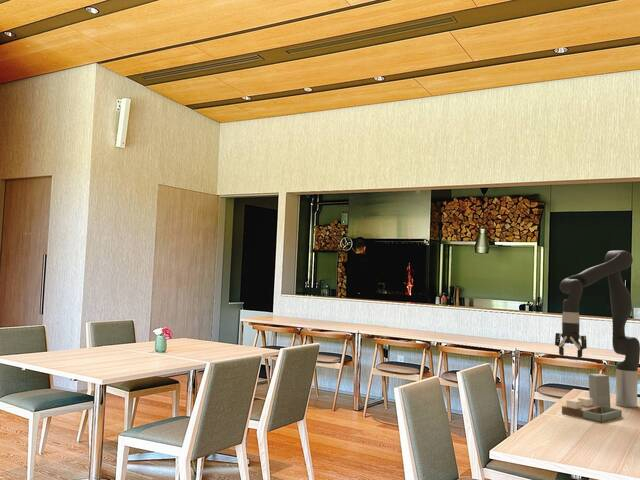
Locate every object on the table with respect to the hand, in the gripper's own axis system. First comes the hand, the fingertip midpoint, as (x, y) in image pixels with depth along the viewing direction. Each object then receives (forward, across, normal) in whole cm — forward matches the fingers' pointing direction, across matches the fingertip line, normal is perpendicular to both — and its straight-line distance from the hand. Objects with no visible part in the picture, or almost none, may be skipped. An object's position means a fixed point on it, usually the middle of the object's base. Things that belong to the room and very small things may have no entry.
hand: (570, 356), depth 279 cm
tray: (+24, -18, +5) cm, 30 cm away
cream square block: (+21, -7, +10) cm, 24 cm away
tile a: (+21, -7, 0) cm, 22 cm away
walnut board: (+24, -8, +5) cm, 26 cm away
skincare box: (+24, -7, -13) cm, 29 cm away
